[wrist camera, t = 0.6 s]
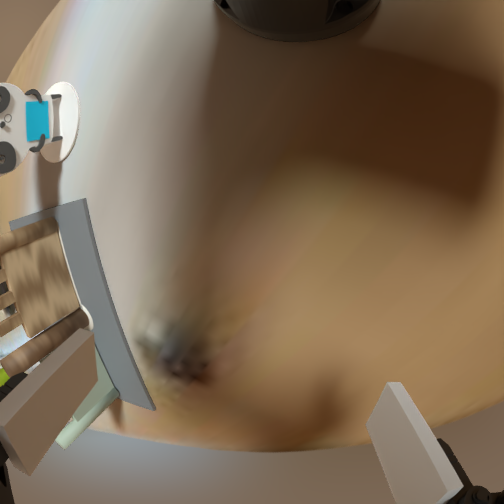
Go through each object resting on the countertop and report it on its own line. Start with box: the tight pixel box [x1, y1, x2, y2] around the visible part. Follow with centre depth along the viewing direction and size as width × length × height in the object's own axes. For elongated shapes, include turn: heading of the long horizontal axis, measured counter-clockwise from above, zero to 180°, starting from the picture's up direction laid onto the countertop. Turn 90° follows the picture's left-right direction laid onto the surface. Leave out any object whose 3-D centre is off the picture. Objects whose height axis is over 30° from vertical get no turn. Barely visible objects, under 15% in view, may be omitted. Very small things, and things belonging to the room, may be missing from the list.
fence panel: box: [39, 329, 119, 450], centre depth 36 cm, size 14×2×15 cm, turn 8°
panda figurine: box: [0, 82, 80, 176], centre depth 25 cm, size 12×11×15 cm
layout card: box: [9, 198, 156, 411], centre depth 42 cm, size 34×26×1 cm
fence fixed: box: [0, 217, 89, 378], centre depth 31 cm, size 17×3×16 cm, turn 8°
